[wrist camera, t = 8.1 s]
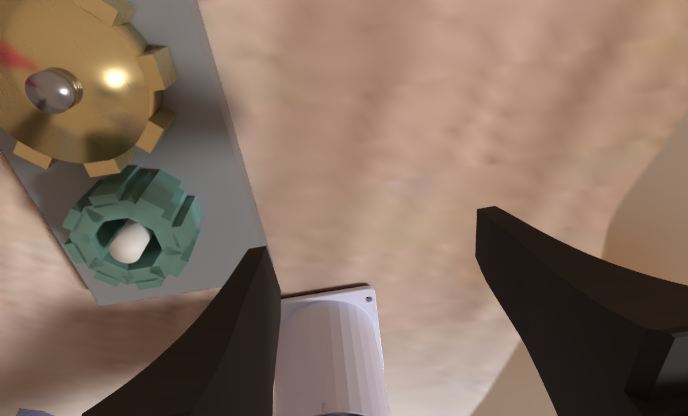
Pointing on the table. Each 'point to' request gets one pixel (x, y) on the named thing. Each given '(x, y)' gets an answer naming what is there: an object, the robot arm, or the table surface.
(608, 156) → the table surface
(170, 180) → the loose gear
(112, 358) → the table surface
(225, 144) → the gear board
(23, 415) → the toy pieces
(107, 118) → the brass gear
